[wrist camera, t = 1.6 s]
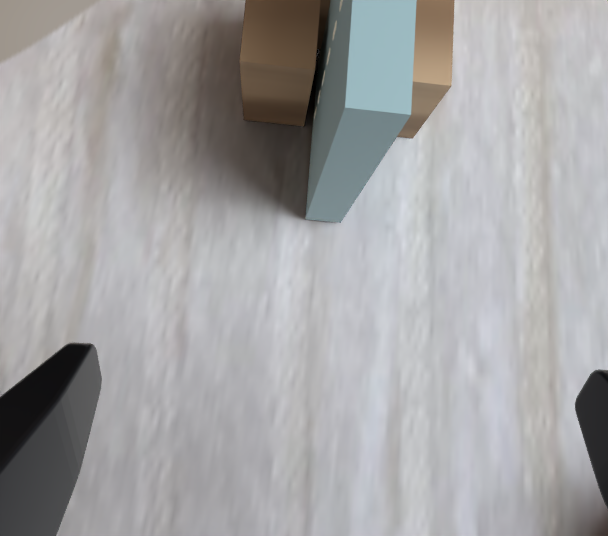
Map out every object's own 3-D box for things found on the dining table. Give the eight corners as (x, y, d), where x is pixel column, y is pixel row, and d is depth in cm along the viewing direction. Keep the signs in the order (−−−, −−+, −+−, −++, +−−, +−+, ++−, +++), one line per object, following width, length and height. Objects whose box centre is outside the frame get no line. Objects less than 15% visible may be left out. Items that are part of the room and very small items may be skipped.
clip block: (412, 138, 24) (451, 85, 19) (243, 119, 24) (239, 61, 19) (417, 41, 25) (455, -33, 20) (253, 21, 25) (251, -60, 20)
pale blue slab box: (341, 222, 23) (412, 114, 12) (304, 219, 23) (344, 107, 12) (351, 68, 24) (425, -154, 13) (316, 64, 24) (362, -164, 13)
